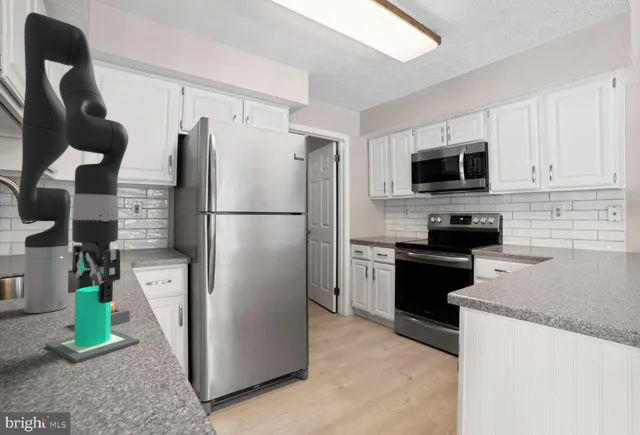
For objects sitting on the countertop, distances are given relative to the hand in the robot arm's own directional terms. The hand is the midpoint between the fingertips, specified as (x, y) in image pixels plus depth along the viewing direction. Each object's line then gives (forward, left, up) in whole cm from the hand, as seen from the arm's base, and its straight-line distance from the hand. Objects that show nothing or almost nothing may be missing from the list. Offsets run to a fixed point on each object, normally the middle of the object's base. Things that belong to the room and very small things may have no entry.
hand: (94, 299), depth 65 cm
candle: (0, 0, -9) cm, 9 cm away
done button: (-13, +8, -7) cm, 17 cm away
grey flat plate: (0, 0, -9) cm, 9 cm away
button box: (-13, +8, -9) cm, 18 cm away
